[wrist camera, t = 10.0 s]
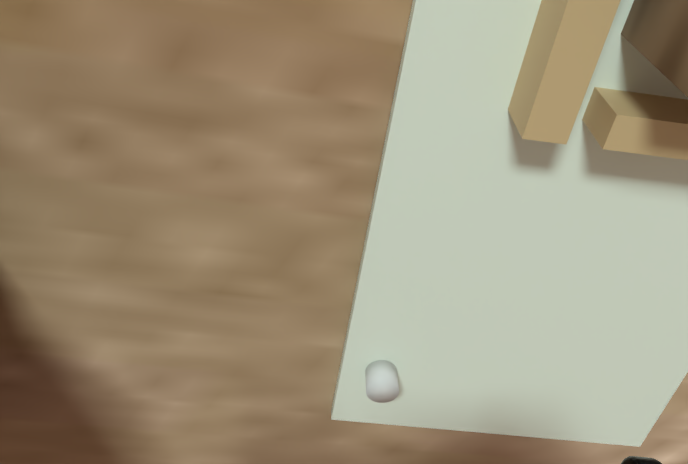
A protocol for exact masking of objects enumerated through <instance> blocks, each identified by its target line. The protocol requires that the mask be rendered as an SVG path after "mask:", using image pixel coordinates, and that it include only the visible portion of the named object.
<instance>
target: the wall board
mask: <svg viewBox="0 0 688 464" xmlns="http://www.w3.org/2000/svg"><path fill="white" fill-rule="evenodd" d="M633 2H634V0H413V3H412V8H411V13H410V18H409V23H408V28H407V33H406V38H405V43H404V48H403V53H402V58H401V63H400V68H399V73H398V78H397V83H396V88H395V93H394V98H393V103H392V108H391V113H390V118H389V123H388V128H387V133H386V138H385V143H384V148H383V153H382V158H381V163H380V168H379V173H378V178H377V183H376V188H375V193H374V198H373V203H372V208H371V213H370V218H369V223H368V228H367V233H366V238H365V243H364V248H363V253H362V258H361V264H360V269H359V274H358V279H357V284H356V289H355V294H354V299H353V304H352V309H351V314H350V319H349V324H348V329H347V334H346V339H345V344H344V349H343V354H342V359H341V364H340V369H339V374H338V379H337V384H336V389H335V394H334V399H333V404H332V409H331V419H332V420H343V421H355V422H366V423H377V424H389V425H400V426H411V427H423V428H434V429H445V430H457V431H468V432H479V433H491V434H502V435H513V436H525V437H536V438H547V439H559V440H570V441H581V442H593V443H604V444H615V445H627V446H638V447H640V446H641V444H642V443H643V441H644V440H645V438H646V436H647V435H648V433H649V432H650V430H651V429H652V427H653V425H654V424H655V422H656V421H657V419H658V418H659V416H660V414H661V413H662V411H663V410H664V408H665V407H666V405H667V403H668V402H669V400H670V399H671V397H672V396H673V394H674V393H675V391H676V389H677V388H678V386H679V385H680V383H681V382H682V380H683V378H684V377H685V375H686V374H687V372H688V97H687V96H686V95H685V94H683V93H682V92H681V91H680V90H679V89H678V88H677V87H676V86H675V85H674V84H673V83H672V82H671V81H670V80H669V79H668V78H667V77H666V76H664V75H663V74H662V73H661V72H660V71H659V70H658V69H657V68H656V67H655V66H654V65H653V64H652V63H651V62H650V61H649V60H648V59H646V58H645V57H644V56H643V55H642V54H641V53H640V52H639V51H638V50H637V49H636V48H635V47H634V46H633V45H632V44H631V43H630V42H628V41H627V40H626V39H625V38H624V37H623V36H622V35H621V32H622V30H623V27H624V24H625V22H626V19H627V17H628V14H629V12H630V9H631V7H632V4H633Z"/></svg>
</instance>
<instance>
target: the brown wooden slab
mask: <svg viewBox="0 0 688 464" xmlns="http://www.w3.org/2000/svg"><path fill="white" fill-rule="evenodd" d="M621 35H622V36H623V37H624V38H625V39H626V40H627V41H628V42H630V43H631V44H632V45H633V46H634V47H635V48H636V49H637V50H638V51H639V52H640V53H641V54H642V55H643V56H644V57H645V58H646V59H648V60H649V61H650V62H651V63H652V64H653V65H654V66H655V67H656V68H657V69H658V70H659V71H660V72H661V73H662V74H663V75H664V76H666V77H667V78H668V79H669V80H670V81H671V82H672V83H673V84H674V85H675V86H676V87H677V88H678V89H679V90H680V91H681V92H682V93H683V94H685V95H686V96H687V97H688V0H634V2H633V4H632V7H631V9H630V12H629V14H628V17H627V19H626V22H625V24H624V27H623V30H622V32H621Z"/></svg>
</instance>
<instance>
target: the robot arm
mask: <svg viewBox="0 0 688 464" xmlns="http://www.w3.org/2000/svg"><path fill="white" fill-rule="evenodd" d="M621 464H662V463H660V462H659V461H658V460H656V459H653V458H647V457H635V456H629V457H627V458H625V459H624V460H623V461H622V463H621Z"/></svg>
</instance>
